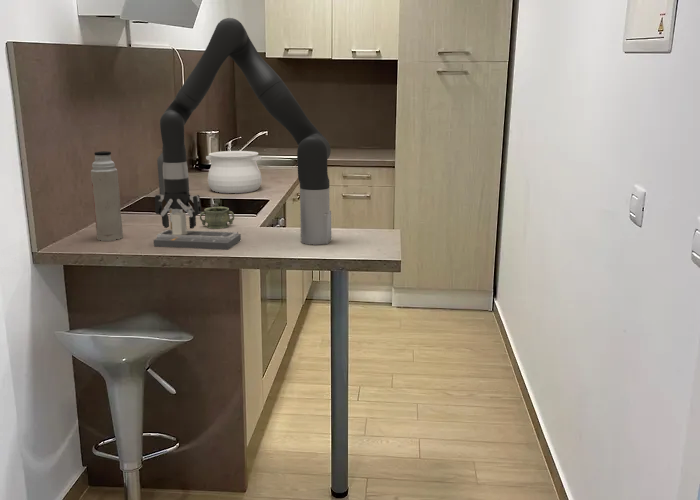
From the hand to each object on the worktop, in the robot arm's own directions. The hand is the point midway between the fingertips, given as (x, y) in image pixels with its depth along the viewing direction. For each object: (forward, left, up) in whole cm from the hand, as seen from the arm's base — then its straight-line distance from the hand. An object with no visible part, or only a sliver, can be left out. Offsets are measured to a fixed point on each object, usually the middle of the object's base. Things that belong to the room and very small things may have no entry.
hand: (179, 227), depth 216 cm
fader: (0, 0, -3) cm, 3 cm away
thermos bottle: (+25, -2, -5) cm, 26 cm away
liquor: (+38, -79, -5) cm, 88 cm away
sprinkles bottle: (+8, -16, -5) cm, 19 cm away
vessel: (-3, -25, -5) cm, 26 cm away
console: (-6, 0, -5) cm, 8 cm away
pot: (+17, -101, -5) cm, 103 cm away
